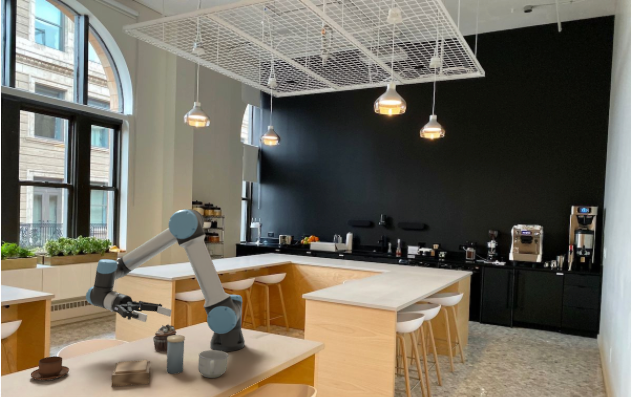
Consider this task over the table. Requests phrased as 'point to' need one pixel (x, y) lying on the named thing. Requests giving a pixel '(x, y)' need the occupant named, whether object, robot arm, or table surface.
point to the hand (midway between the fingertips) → (158, 315)
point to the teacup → (212, 363)
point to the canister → (175, 354)
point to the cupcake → (163, 337)
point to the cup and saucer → (50, 369)
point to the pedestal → (131, 373)
